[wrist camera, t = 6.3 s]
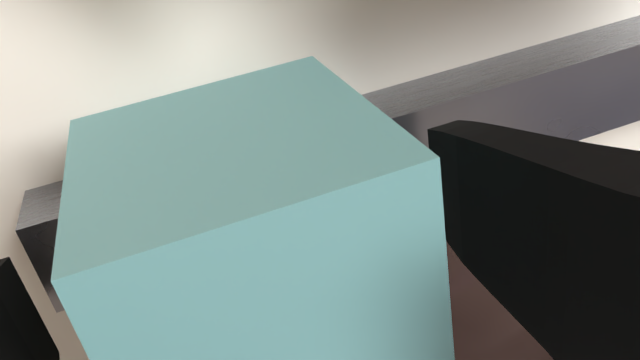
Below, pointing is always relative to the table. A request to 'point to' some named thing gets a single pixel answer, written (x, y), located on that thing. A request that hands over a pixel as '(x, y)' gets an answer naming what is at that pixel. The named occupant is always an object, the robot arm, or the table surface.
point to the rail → (461, 108)
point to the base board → (230, 68)
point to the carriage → (253, 226)
